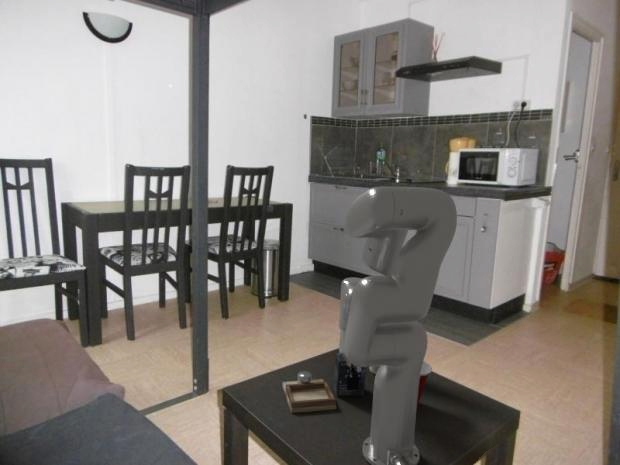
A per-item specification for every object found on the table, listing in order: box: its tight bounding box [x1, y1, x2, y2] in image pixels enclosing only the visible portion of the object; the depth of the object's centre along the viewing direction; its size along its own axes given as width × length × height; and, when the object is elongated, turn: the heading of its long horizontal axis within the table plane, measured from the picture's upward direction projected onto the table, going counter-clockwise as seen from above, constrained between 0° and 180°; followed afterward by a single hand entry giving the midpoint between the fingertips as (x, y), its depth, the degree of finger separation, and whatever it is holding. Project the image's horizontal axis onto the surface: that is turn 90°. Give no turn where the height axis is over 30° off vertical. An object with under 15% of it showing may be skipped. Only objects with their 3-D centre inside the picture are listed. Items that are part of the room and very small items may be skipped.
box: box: [333, 352, 367, 397], centre depth 127 cm, size 8×6×11 cm
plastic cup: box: [417, 360, 433, 408], centre depth 121 cm, size 11×11×12 cm
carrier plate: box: [281, 370, 337, 414], centre depth 124 cm, size 14×12×4 cm
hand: (348, 382), depth 127 cm, fingers closed on box, 5 cm apart
